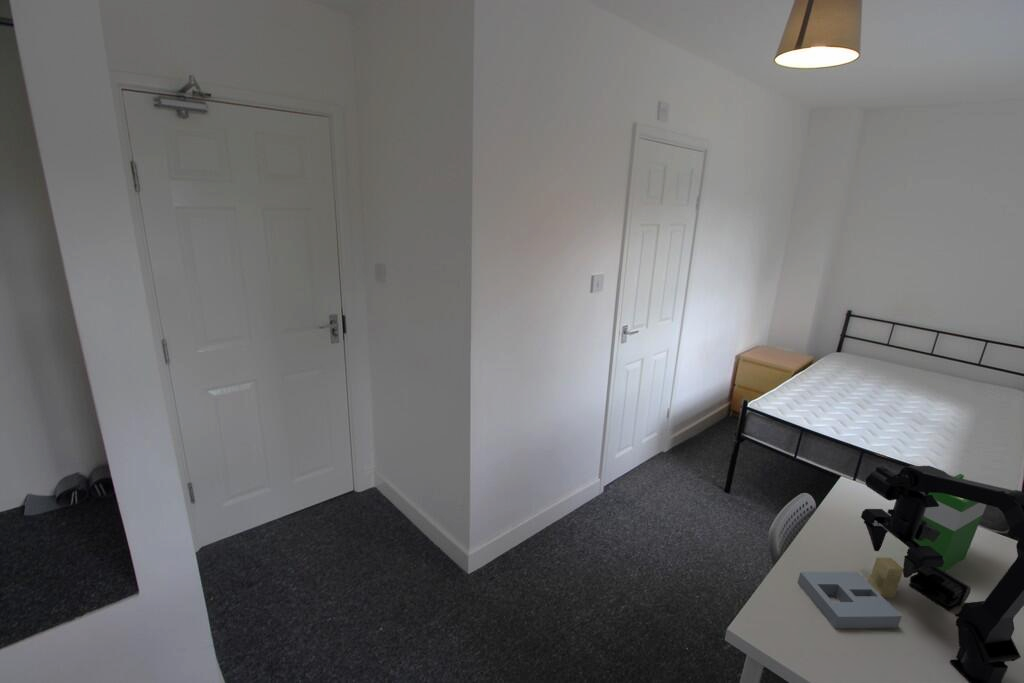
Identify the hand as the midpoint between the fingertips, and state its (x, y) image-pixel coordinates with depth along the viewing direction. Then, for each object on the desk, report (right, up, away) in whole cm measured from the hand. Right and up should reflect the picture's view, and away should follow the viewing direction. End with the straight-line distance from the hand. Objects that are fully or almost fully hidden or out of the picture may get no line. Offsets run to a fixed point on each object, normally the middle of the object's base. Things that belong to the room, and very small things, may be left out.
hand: (890, 563), depth 122 cm
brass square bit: (0, -9, +3) cm, 9 cm away
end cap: (+14, -10, +3) cm, 17 cm away
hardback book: (+26, -6, +16) cm, 31 cm away
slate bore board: (-13, -9, -2) cm, 16 cm away
